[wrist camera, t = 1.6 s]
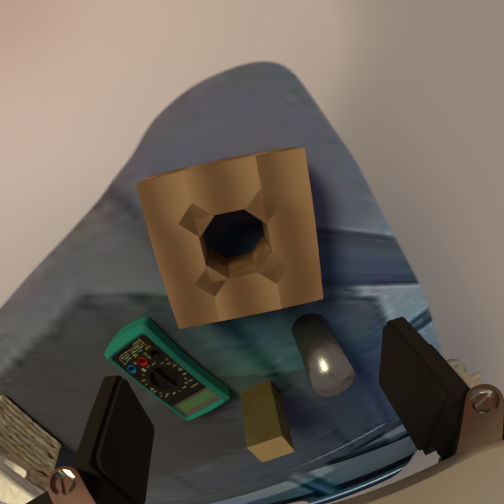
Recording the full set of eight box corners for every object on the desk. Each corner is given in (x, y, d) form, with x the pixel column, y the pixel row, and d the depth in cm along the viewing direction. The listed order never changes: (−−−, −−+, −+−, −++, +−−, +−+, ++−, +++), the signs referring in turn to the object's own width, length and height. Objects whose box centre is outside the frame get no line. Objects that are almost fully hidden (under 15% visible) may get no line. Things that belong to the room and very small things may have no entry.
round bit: (325, 309, 33) (355, 359, 25) (327, 337, 34) (354, 389, 26) (290, 317, 33) (311, 371, 25) (294, 346, 34) (314, 401, 26)
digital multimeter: (144, 308, 31) (138, 323, 29) (231, 386, 36) (232, 403, 33) (104, 340, 32) (97, 355, 30) (189, 409, 37) (188, 425, 34)
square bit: (269, 379, 36) (282, 435, 27) (281, 397, 37) (294, 451, 29) (240, 391, 36) (246, 447, 28) (254, 408, 37) (262, 462, 29)
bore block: (290, 147, 27) (304, 148, 22) (308, 276, 31) (323, 299, 27) (150, 176, 27) (135, 183, 22) (184, 301, 31) (179, 328, 26)
